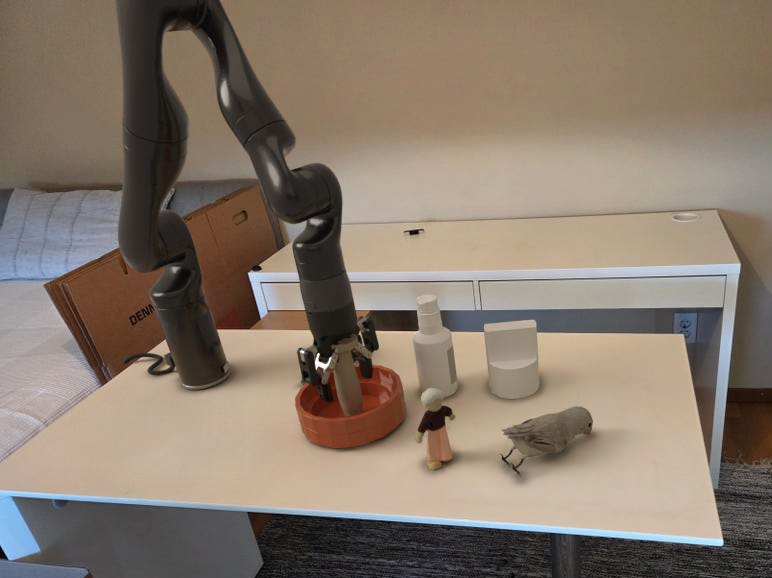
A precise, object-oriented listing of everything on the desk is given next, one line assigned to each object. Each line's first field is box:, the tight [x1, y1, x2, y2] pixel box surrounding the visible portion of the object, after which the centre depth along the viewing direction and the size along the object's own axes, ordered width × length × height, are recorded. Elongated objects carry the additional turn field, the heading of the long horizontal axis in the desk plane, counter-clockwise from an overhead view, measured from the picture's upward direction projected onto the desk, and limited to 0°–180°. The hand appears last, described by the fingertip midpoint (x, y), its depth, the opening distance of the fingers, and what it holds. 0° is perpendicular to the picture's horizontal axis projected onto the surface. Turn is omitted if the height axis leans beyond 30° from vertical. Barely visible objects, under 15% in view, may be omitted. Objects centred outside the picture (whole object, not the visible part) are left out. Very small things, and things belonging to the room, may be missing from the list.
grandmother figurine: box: [414, 388, 457, 471], centre depth 94 cm, size 8×4×13 cm, turn 148°
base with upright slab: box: [483, 319, 540, 400], centre depth 111 cm, size 9×9×12 cm
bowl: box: [294, 364, 407, 449], centre depth 107 cm, size 18×18×6 cm
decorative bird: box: [499, 406, 594, 478], centre depth 94 cm, size 5×16×8 cm, turn 122°
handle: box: [331, 333, 364, 417], centre depth 105 cm, size 5×6×15 cm
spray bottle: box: [412, 293, 459, 399], centre depth 111 cm, size 7×7×18 cm
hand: (348, 388), depth 106 cm, fingers open, 8 cm apart
